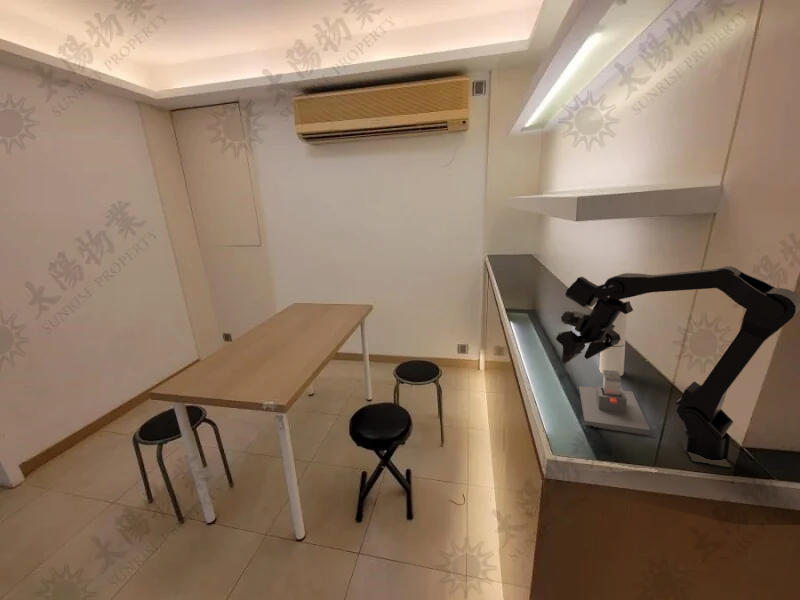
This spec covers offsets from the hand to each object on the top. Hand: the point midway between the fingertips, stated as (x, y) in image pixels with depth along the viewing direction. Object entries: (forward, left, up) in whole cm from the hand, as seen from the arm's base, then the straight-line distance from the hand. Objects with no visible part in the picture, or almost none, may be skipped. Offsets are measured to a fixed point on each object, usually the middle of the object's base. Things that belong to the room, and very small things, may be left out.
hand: (574, 360), depth 94 cm
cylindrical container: (-13, -27, -14) cm, 33 cm away
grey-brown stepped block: (-9, 0, -12) cm, 15 cm away
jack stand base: (-9, 0, -14) cm, 17 cm away
